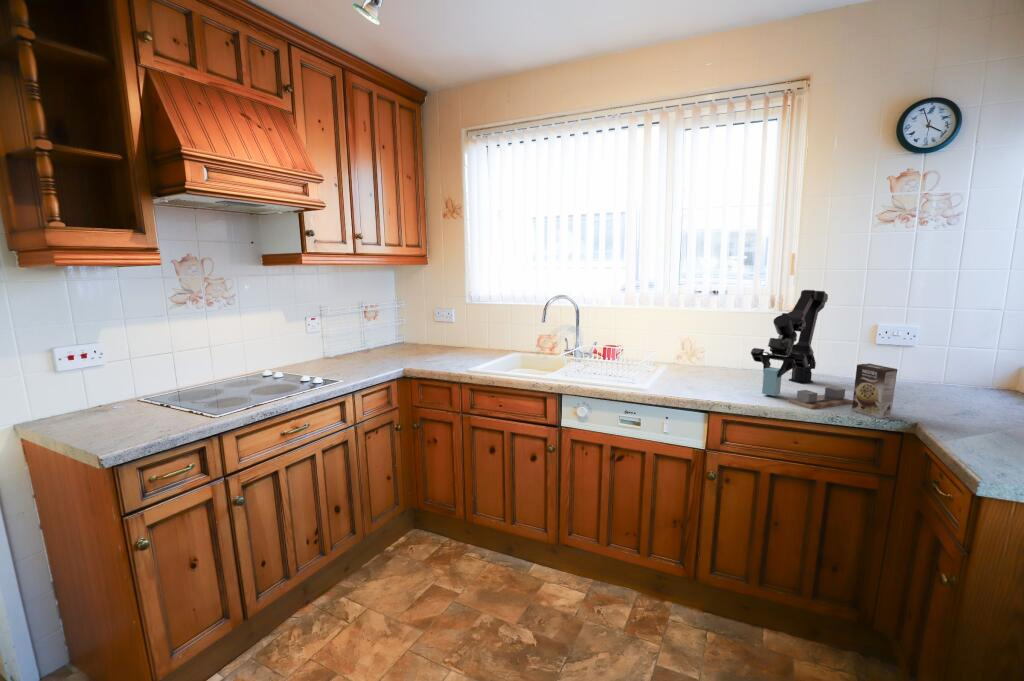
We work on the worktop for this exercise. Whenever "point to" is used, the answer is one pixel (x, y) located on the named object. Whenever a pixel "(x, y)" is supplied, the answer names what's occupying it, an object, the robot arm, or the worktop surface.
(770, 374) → the block
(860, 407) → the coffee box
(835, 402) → the board
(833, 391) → the mounted modules
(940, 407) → the worktop surface
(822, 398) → the rail
